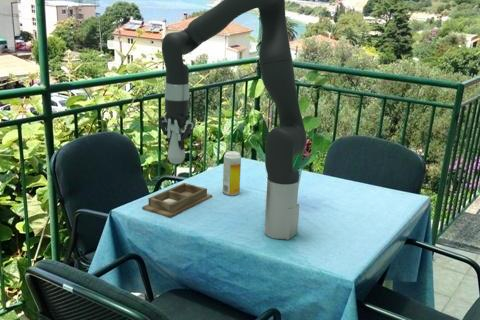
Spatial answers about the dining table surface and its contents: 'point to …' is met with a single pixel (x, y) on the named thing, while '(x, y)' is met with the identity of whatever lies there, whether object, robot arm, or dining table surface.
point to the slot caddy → (176, 200)
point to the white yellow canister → (231, 173)
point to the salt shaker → (175, 148)
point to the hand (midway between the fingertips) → (176, 149)
